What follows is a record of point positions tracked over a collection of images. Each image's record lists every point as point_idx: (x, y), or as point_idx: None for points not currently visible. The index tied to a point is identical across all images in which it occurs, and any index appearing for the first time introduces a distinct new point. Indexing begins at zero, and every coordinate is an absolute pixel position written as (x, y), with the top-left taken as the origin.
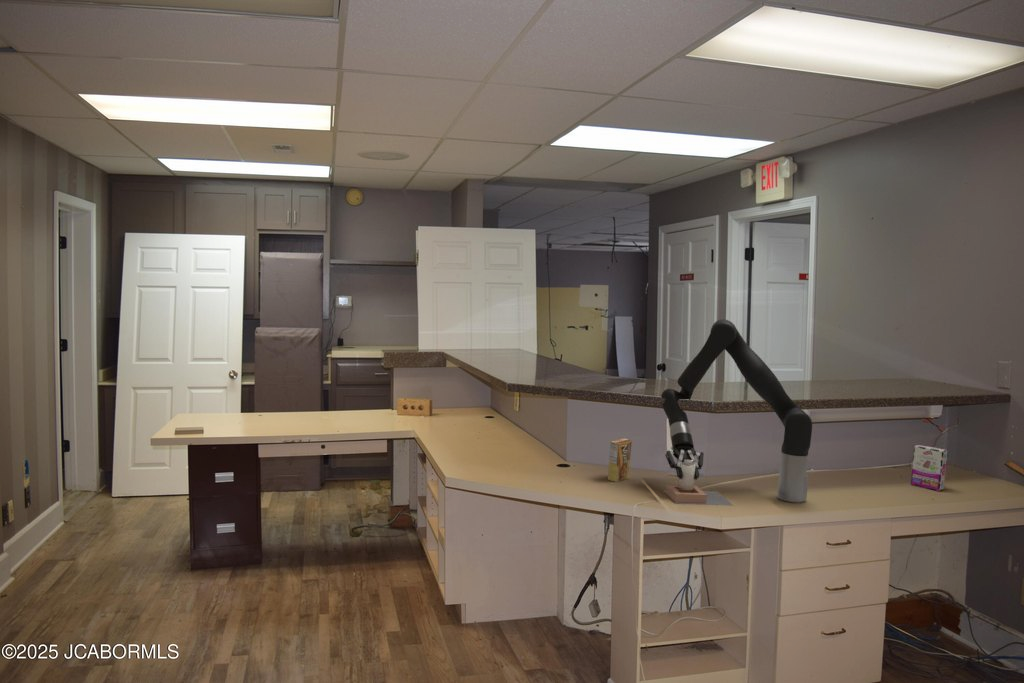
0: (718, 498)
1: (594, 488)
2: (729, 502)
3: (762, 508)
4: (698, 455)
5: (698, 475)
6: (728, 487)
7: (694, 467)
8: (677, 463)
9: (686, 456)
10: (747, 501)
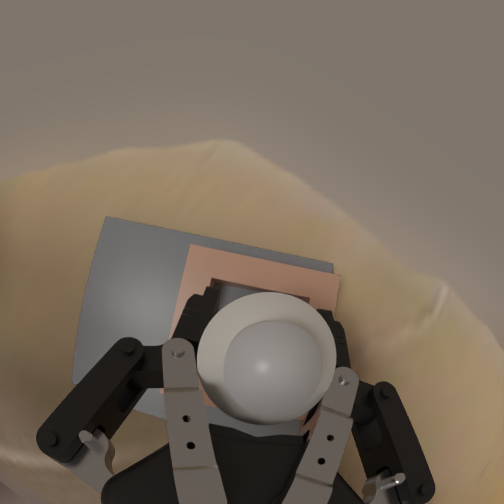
0: (108, 303)
1: (460, 447)
2: (98, 249)
3: (35, 215)
4: (93, 451)
5: (195, 298)
6: (24, 424)
7: (228, 305)
8: (355, 395)
9: (247, 464)
10: (29, 286)
